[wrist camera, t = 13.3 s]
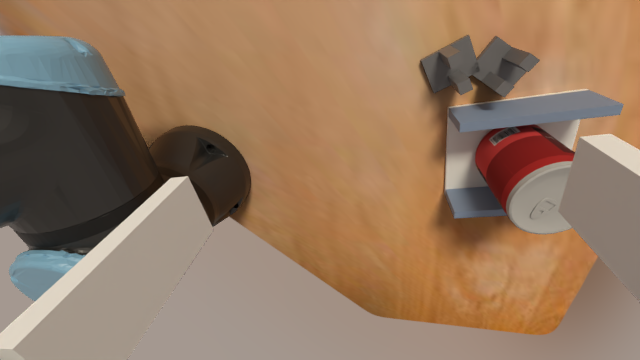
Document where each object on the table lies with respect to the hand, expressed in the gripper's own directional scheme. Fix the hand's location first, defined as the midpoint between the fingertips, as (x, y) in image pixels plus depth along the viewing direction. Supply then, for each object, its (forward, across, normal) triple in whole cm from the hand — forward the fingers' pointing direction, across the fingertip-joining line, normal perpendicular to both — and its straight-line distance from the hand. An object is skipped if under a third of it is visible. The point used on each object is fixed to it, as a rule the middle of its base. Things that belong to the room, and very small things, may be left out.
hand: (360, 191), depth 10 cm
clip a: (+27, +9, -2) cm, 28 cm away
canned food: (+26, +16, -13) cm, 33 cm away
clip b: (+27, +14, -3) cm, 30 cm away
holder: (+27, +16, -13) cm, 34 cm away
